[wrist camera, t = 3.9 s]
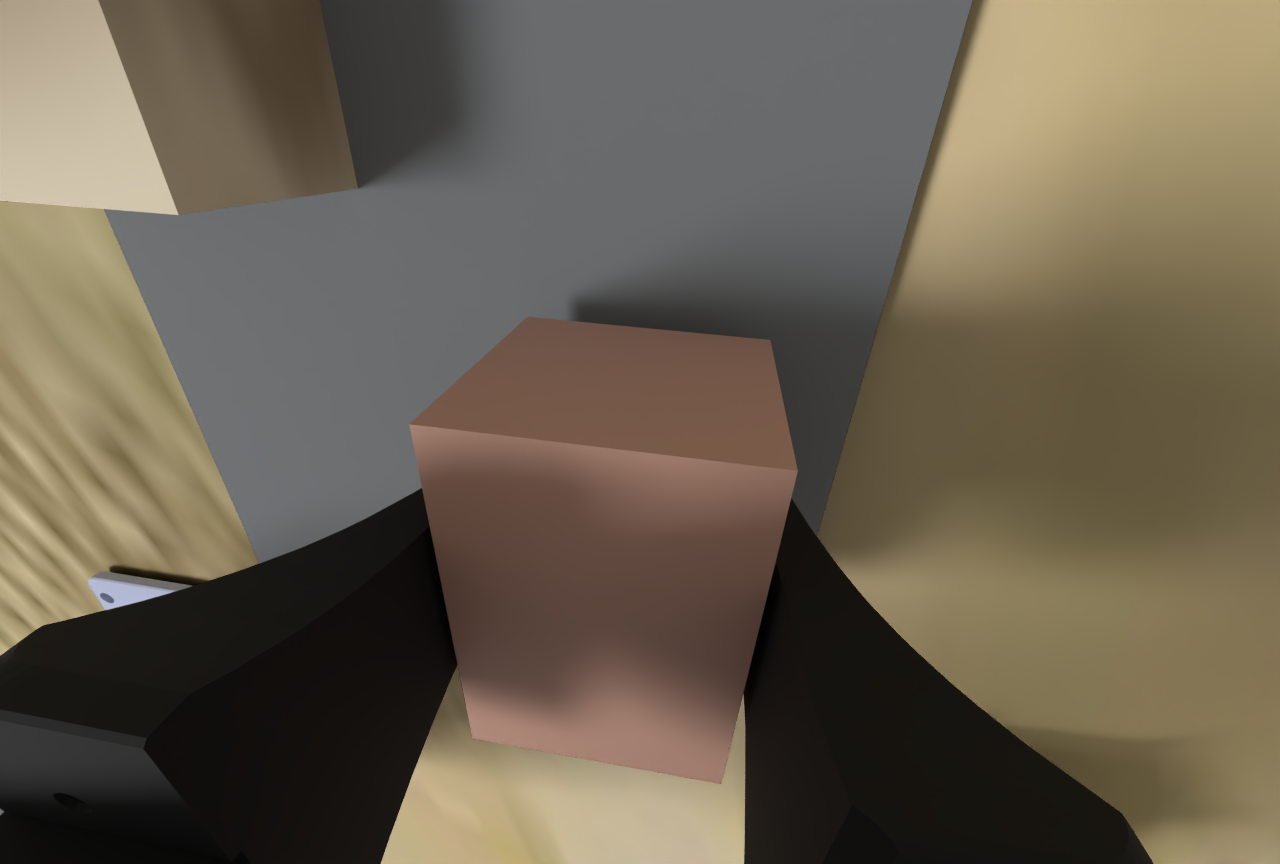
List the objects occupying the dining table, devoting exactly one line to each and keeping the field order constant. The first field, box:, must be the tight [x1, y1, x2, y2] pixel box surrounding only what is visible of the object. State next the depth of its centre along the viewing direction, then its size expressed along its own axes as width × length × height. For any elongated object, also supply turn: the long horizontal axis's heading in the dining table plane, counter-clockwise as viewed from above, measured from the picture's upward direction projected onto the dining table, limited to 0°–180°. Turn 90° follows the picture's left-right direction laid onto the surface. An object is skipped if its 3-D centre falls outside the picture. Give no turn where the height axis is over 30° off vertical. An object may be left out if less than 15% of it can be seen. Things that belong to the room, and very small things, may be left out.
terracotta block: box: [409, 317, 798, 784], centre depth 10 cm, size 7×5×4 cm
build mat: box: [104, 0, 973, 563], centre depth 11 cm, size 22×17×1 cm
